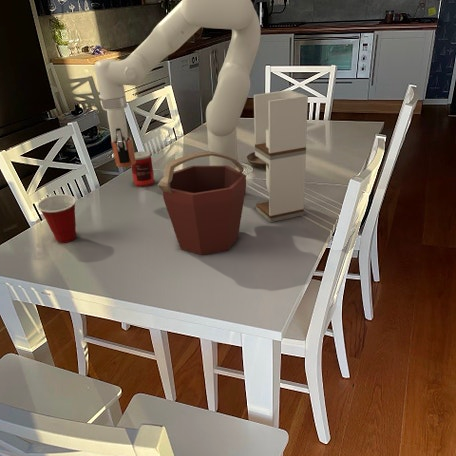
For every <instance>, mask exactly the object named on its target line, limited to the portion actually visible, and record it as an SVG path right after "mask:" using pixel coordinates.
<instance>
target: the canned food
mask: <svg viewBox="0 0 456 456" xmlns="http://www.w3.org/2000/svg"><path fill="white" fill-rule="evenodd" d="M134 154H135V159H136V164H134V165H132V166H130V168H131V173H132V174H131V175H132V181H133V183H134V185H135V186H136V187H139V188H144V187H151V186H152V185H154V183H155V175H154V168H153V160H152V155H151V152H149V151H143V150H142V151H136V152H135V151H134Z"/></svg>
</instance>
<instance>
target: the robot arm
mask: <svg viewBox="0 0 456 456" xmlns="http://www.w3.org/2000/svg"><path fill="white" fill-rule="evenodd" d="M255 9H256V8H255V7H254V4H253V2H252V0H181V1H180V2H178V3H177V5H176V6H175V7H174V8H173V9H171V10H170V12H168V14H167V15H165V17H164V18H162V19H161V20H160V21H159V22H158V23H157V24H156V26H155V27H154V28H153V29H152V31H151V32H150V34H149V35H148V36H147V37H146V38H145V39H144V41H142V42H141V43H140V44H139V45H138V46H137V47H136V48H135V49H134V51H132V52H131V53H130V54H129V55H128V56H127V57H125V58H124V59H120V60H117V59H114V58H105V59H100V60H96V62H95V63H94V71H95V75H96V81H97V87H98V90H99V97H100V100H101V105H102V110H103V111H106V115H107V116H106V117H107V121H108V126H109V127H108V128H109V133H110V138H111V141H112V142H113V143H114V142H116V141H117V147H118V155H119V160H120V163H128V162H130V159H129V154H128V150H127V148H126V141H127V137H128V125H127V119H126V113H125V109H126V108H128V103H127V98H126V92H125V87H124V86H130V87H131V86H137V85H140V84H141V83H142V82H143V81H144V80H145V78H146V77H147V75H148V74H150V72H152V71H153V70H154V69H155V67H157V65H159V64H160V63H161V62H162V61H163V60H164V59H166V58H167V57H168V56H170V55H172V54H174V53H175V52H176V51H178V50H179V49H180V48H181V47H182V46H183V45H184V44H185V43H186V42H187V41H188V40H189V39H190V38H191V37H192V36H193V35H194V34H195V33H196V32H197V31H199V30H200V29H201V28H204V29H205V28H206V29H219V30H220V29H221V30H231V39H230V42H229V45H228V49H227V52H226V56H225V58H224V61H223V63H222V66H221V69H220V71H219V73H218V76H217V85H216V88H215V90H214V93H213V97H212V99H211V100H210V101H209V103H208V104H207V105H206V109H205V123H206V131H207V133H206V134H207V146H208V151H210V152H215V153H219V154H223V155H225V156H228V157H231V158H233V159H235V160H237V161H238V159H239V158H238V135H237V125H238V123H239V120H240V118H241V115H242V113H243V110H244V107H245V105H246V103H247V100H248V97H249V94H250V89H251V79H250V75H251V72H252V69H253V66H254V63H255V60H256V57H257V53H258V50H259V47H260V43H261V34H262V33H261V32H262V31H261V23H260V18H259V15H258V14H257V13H258V12H257V11H256V10H255ZM122 139H124V140H122ZM123 143H124V144H123ZM208 158H209V159H208V160H209V166H229V167H231V168H233V169H236V168H237V166H236V165H235V164H234V163H233V162H232V161H231V160H228V159H225V158H221V157H216V156H208ZM238 162H239V161H238Z"/></svg>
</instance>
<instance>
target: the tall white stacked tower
mask: <svg viewBox="0 0 456 456" xmlns="http://www.w3.org/2000/svg"><path fill="white" fill-rule="evenodd" d="M308 105H309V96H308V95H306V94H303V93H300V92H297V91H294V90H292V89H287V90H280V91H273V92H272V91H271V92H264V93H258V94H257V93H256V94H253V123H254V126H253V127H254V152H255V155H256V156H257V157H259V158H260V159H262V160H263V161H265V162H266V168H265V182H266V183H265V186H266V189H267V191H268V201H262V202H258V203H256V204H255V211H257V212H258V213H259V214H260V215H261V216H262V217H264V218H265V219H266V220H267V221H268V222H269V223H274V222H278V221H284V220H287V219H291V218H297V217H300V216H304V215H305V190H306V189H305V188H306V186H305V185H306V162H307V159H306V158H307V137H308V136H307V133H308V109H309V108H308V107H309V106H308Z"/></svg>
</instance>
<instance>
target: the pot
mask: <svg viewBox="0 0 456 456" xmlns="http://www.w3.org/2000/svg"><path fill="white" fill-rule="evenodd" d="M122 140H124V139H122ZM110 143H111V147H112V152H113V157H114V162H115V165H116V167H118V168H127V167H131V166H132V165H134V164H136V159H135V154H134V153H135V149H134V143H133V139H132V137H129V136H127V141H126V148H127V150H128V154H129V159H130V162H128V163H120V160H119V155H118V147H117V141H116V142H114V143H113V142H112V140H111V141H110ZM123 144H124V143H123Z"/></svg>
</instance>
